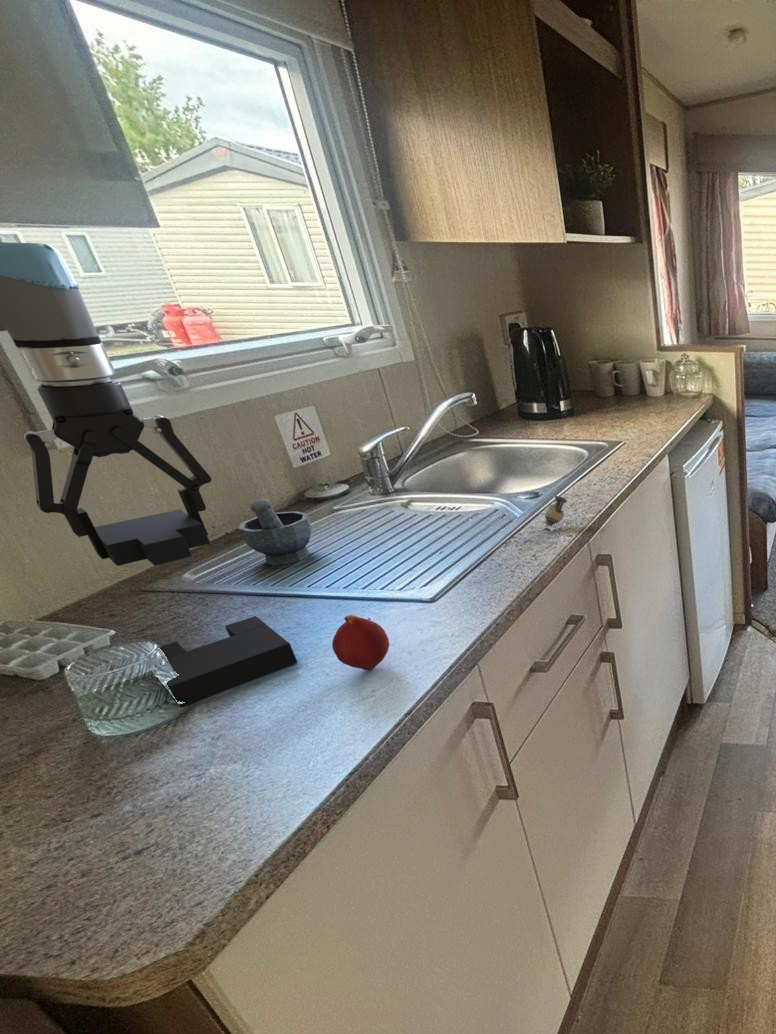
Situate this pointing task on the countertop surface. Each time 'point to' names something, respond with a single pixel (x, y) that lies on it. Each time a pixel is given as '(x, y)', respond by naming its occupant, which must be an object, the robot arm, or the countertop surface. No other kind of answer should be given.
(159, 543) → the pad
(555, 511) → the vase
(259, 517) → the mortar and pestle
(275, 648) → the notch pad
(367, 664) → the onion
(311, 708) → the countertop surface
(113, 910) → the countertop surface
